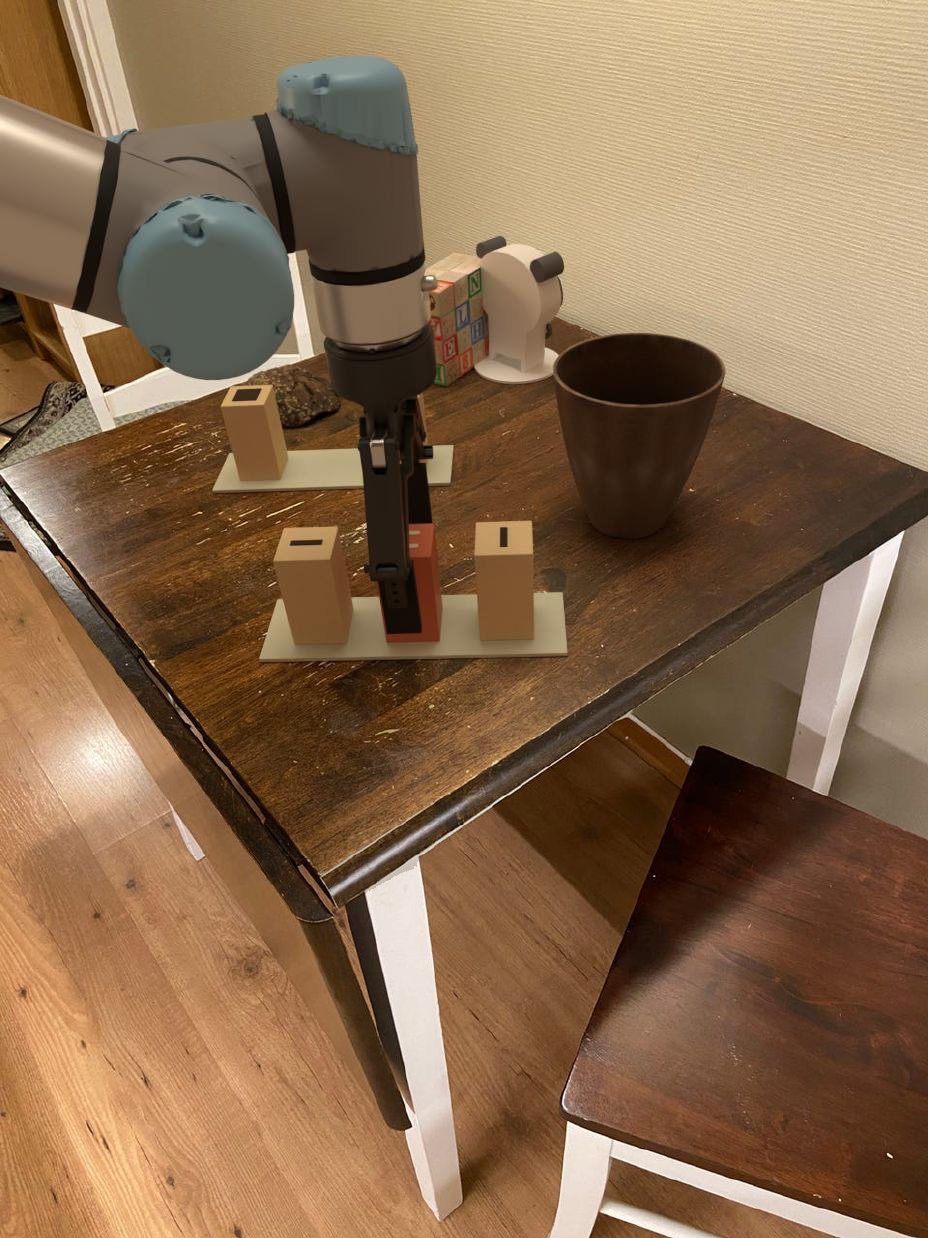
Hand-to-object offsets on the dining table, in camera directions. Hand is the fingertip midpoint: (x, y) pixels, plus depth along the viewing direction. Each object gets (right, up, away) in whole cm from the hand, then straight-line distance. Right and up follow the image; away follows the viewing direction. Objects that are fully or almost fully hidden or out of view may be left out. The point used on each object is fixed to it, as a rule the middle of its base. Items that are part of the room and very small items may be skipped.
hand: (411, 576), depth 73 cm
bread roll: (-17, +23, +38) cm, 47 cm away
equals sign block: (0, -4, +3) cm, 5 cm away
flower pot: (+21, +6, +15) cm, 26 cm away
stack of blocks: (+6, +33, +47) cm, 57 cm away
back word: (-10, +13, +25) cm, 30 cm away
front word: (0, -4, +4) cm, 6 cm away
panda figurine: (+12, +30, +42) cm, 53 cm away
